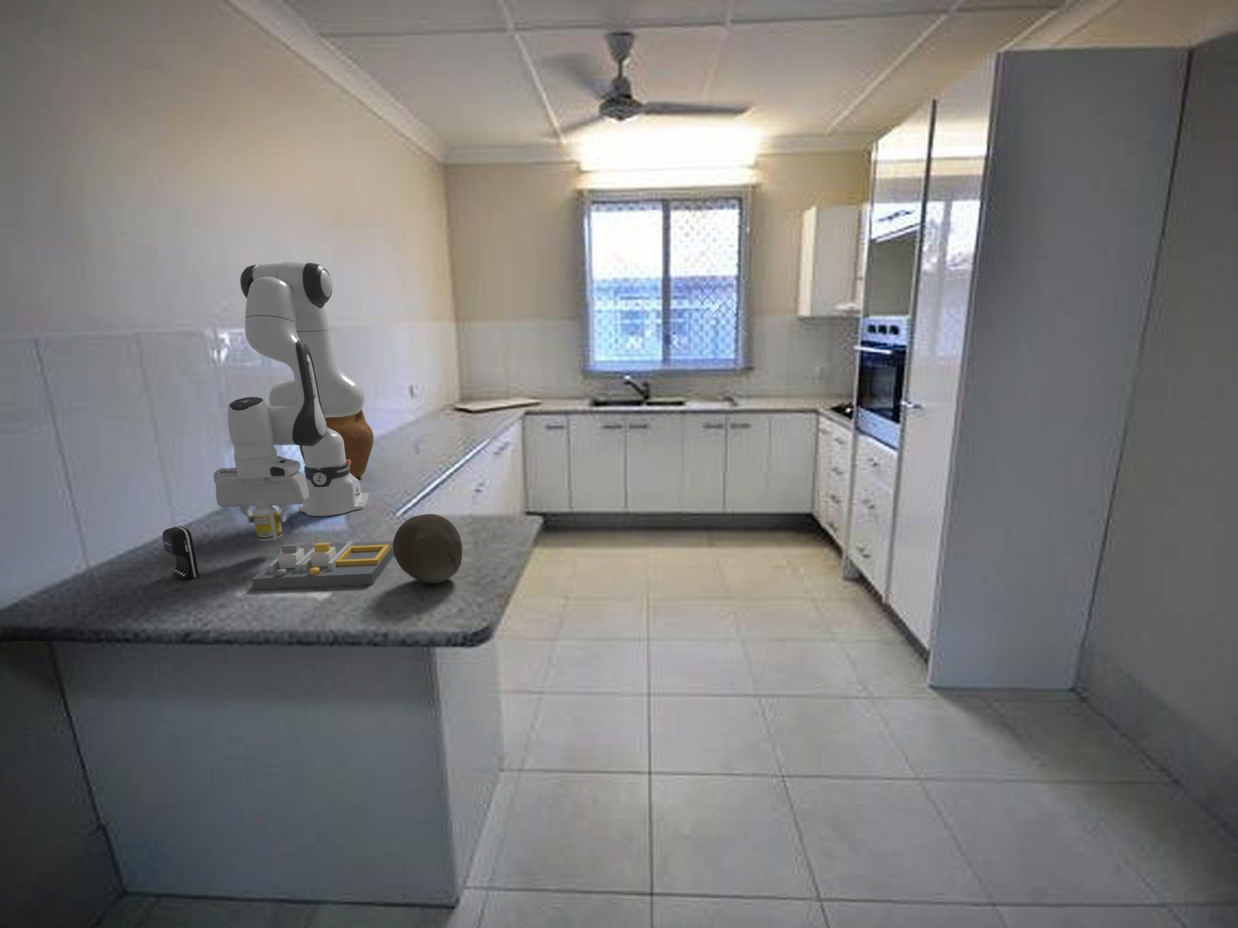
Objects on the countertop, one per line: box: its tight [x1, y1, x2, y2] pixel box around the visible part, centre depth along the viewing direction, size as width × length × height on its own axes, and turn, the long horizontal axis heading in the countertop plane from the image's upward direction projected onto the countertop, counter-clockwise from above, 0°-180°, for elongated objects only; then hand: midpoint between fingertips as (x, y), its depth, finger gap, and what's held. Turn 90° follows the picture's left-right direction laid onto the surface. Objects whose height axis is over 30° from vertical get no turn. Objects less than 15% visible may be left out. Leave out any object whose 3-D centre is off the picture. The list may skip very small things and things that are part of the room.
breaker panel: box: [251, 540, 395, 591], centre depth 144 cm, size 20×25×4 cm
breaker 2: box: [310, 542, 336, 567], centre depth 140 cm, size 4×4×5 cm
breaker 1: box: [276, 543, 305, 568], centre depth 139 cm, size 4×4×5 cm
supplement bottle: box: [252, 502, 283, 542], centre depth 151 cm, size 5×5×10 cm
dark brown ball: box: [392, 513, 463, 584], centre depth 134 cm, size 14×14×15 cm
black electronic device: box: [162, 525, 200, 581], centre depth 140 cm, size 7×4×11 cm, turn 55°
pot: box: [298, 408, 375, 479], centre depth 220 cm, size 24×24×30 cm
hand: (267, 521), depth 152 cm, fingers closed on supplement bottle, 5 cm apart
